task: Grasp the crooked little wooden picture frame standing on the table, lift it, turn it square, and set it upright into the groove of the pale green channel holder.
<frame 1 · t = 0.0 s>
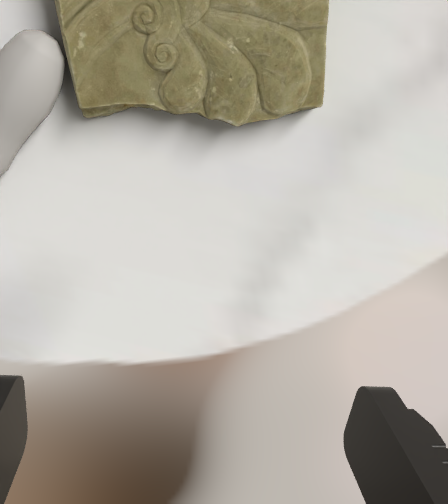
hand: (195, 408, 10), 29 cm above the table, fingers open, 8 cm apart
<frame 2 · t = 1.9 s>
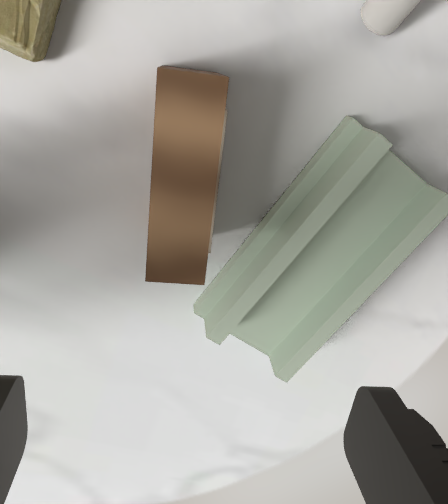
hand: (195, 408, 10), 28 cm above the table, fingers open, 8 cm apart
pale green channel holder: (312, 251, 41), on the table
wooden picture frame: (181, 158, 36), on the table
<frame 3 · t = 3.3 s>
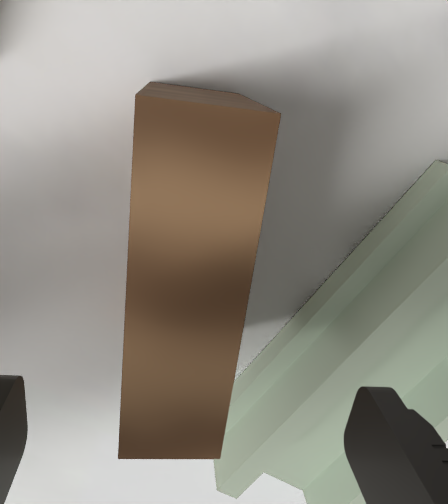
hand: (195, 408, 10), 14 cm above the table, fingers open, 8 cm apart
pale green channel holder: (369, 350, 28), on the table
wooden picture frame: (181, 225, 23), on the table
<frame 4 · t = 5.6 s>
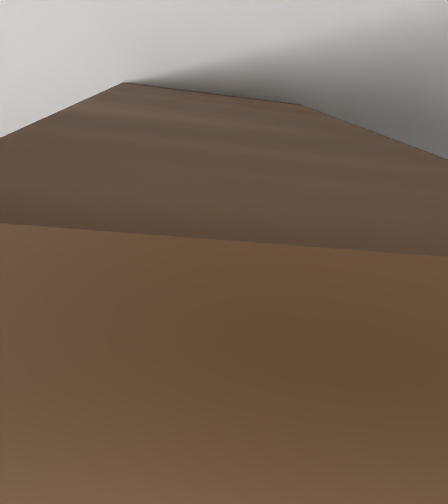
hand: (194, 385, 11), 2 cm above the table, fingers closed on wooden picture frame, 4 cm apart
wooden picture frame: (187, 341, 13), on the table, touching gripper
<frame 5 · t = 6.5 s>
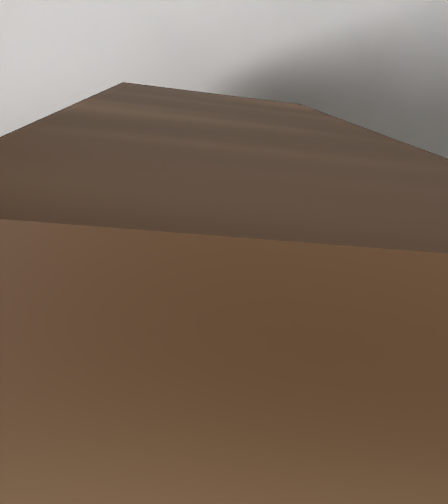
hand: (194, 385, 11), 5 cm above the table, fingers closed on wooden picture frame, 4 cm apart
wooden picture frame: (187, 340, 13), point 3 cm above the table, touching gripper
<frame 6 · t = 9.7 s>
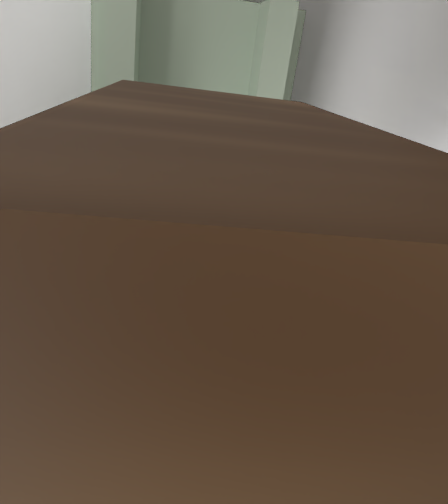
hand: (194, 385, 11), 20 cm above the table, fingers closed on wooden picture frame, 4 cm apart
pale green channel holder: (184, 180, 29), on the table
wooden picture frame: (187, 339, 13), point 18 cm above the table, touching gripper
when the fingers open (5 cm above the table, at t = 13.8 s): wooden picture frame drops 2 cm, resting on pale green channel holder.
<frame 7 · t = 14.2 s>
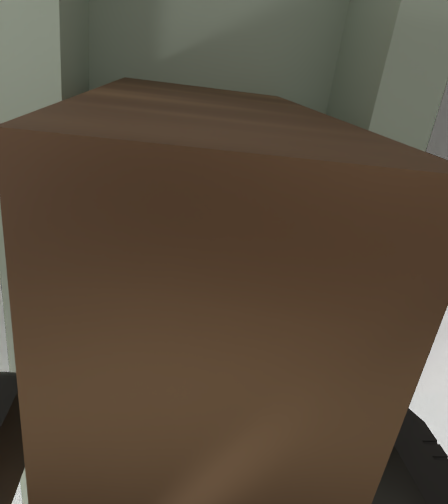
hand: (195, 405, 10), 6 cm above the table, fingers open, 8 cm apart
pale green channel holder: (188, 286, 16), on the table
wooden picture frame: (182, 307, 14), point 1 cm above the table, touching pale green channel holder
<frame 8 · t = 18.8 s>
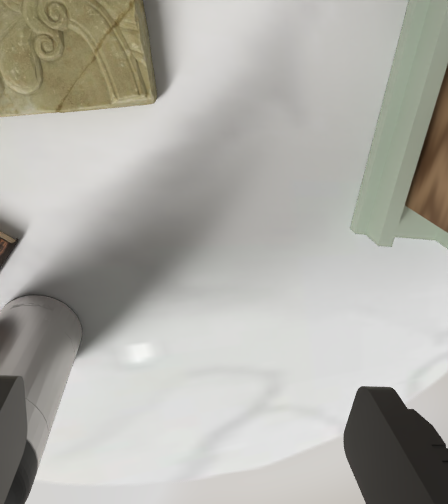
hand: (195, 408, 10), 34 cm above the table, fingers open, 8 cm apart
pale green channel holder: (432, 132, 43), on the table
wooden picture frame: (438, 134, 42), point 1 cm above the table, touching pale green channel holder
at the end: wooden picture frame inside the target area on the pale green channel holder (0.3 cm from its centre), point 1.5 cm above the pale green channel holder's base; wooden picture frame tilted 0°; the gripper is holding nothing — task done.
